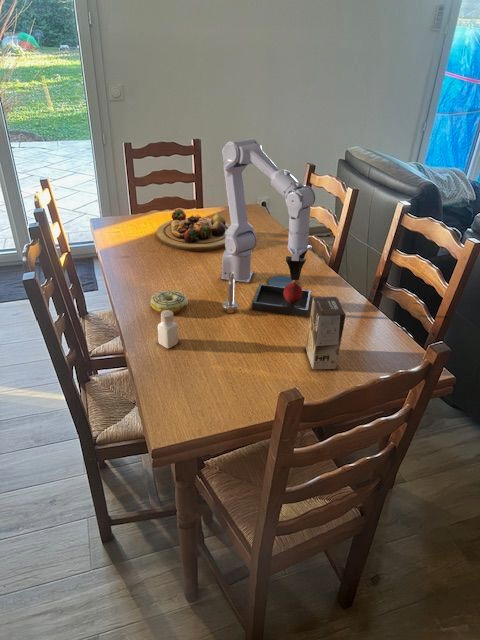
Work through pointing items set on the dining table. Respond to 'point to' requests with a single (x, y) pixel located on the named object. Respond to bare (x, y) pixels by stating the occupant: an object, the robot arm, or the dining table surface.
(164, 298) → the decorated donut
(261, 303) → the tray
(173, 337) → the salt shaker
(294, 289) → the onion
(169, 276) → the dining table surface
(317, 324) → the coffee box
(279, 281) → the mat
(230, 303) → the screw
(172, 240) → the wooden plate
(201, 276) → the dining table surface
